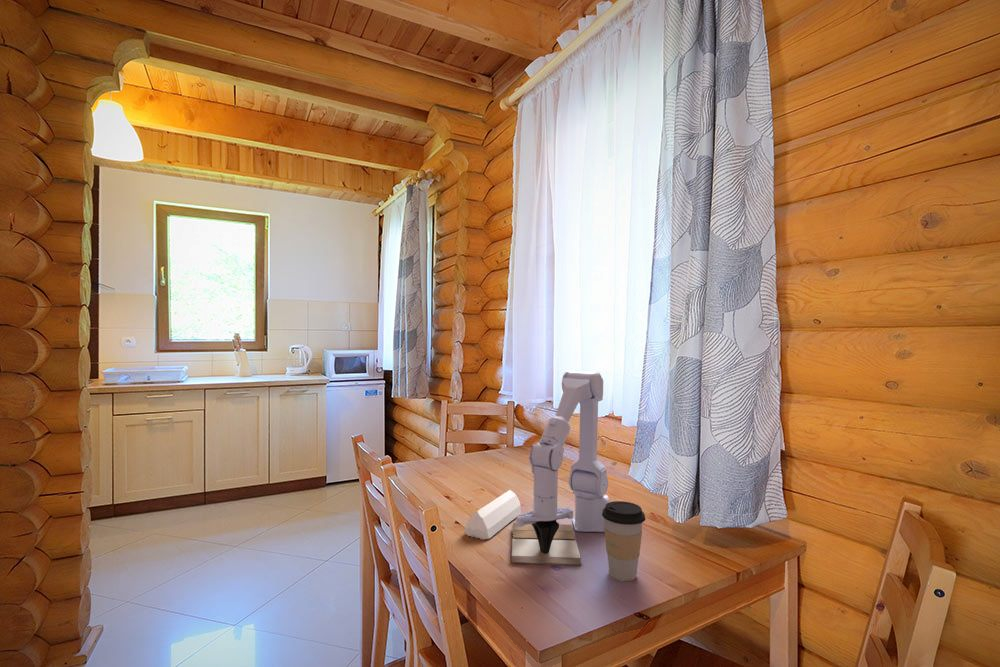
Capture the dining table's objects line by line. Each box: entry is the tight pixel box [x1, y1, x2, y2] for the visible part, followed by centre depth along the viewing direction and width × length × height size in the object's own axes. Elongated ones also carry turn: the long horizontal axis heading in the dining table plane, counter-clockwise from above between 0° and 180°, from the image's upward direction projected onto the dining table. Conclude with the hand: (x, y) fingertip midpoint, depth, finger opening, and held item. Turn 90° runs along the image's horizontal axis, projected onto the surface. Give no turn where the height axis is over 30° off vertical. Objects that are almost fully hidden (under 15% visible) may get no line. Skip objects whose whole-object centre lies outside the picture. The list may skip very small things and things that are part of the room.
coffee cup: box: [602, 500, 646, 582], centre depth 104 cm, size 9×9×15 cm
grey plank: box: [511, 538, 582, 565], centre depth 112 cm, size 16×9×2 cm, turn 88°
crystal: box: [464, 489, 522, 540], centre depth 130 cm, size 7×7×24 cm
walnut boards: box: [511, 522, 576, 541], centre depth 122 cm, size 16×9×2 cm, turn 88°
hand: (544, 551), depth 110 cm, fingers closed, pressing on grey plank
